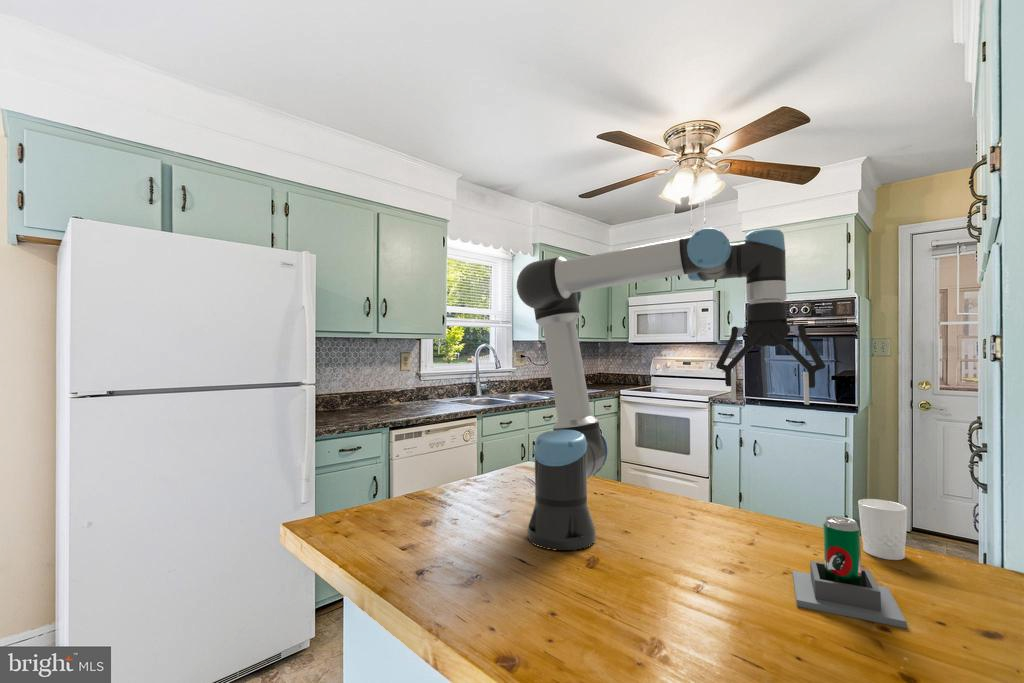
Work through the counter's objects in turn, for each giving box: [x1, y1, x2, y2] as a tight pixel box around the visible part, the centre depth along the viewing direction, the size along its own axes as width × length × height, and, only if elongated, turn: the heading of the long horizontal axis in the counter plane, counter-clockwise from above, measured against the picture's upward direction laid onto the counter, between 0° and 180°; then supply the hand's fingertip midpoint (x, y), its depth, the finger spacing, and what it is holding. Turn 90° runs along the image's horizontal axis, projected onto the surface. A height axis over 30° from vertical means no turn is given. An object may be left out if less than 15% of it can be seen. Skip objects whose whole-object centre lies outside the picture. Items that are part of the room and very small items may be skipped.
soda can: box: [822, 515, 862, 587], centre depth 79 cm, size 5×5×12 cm
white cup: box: [857, 498, 908, 561], centre depth 98 cm, size 8×8×10 cm
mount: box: [792, 560, 907, 629], centre depth 79 cm, size 14×12×4 cm
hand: (769, 402), depth 101 cm, fingers open, 13 cm apart
